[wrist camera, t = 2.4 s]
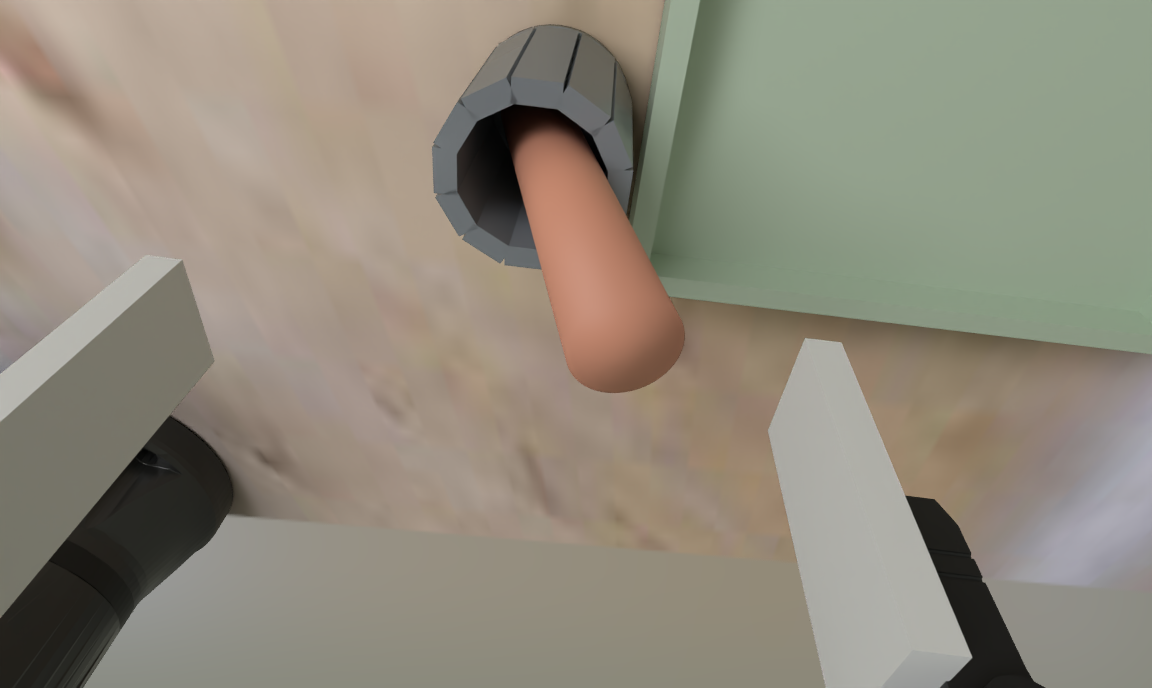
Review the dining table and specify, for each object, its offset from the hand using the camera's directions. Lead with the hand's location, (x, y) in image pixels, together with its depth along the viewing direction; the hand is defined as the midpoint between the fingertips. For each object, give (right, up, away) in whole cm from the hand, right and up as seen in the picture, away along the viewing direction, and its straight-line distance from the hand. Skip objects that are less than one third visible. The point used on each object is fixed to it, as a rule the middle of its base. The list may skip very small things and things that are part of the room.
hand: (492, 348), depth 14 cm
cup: (+1, +10, +14) cm, 17 cm away
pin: (+1, +10, +13) cm, 17 cm away
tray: (+18, +10, +13) cm, 24 cm away
